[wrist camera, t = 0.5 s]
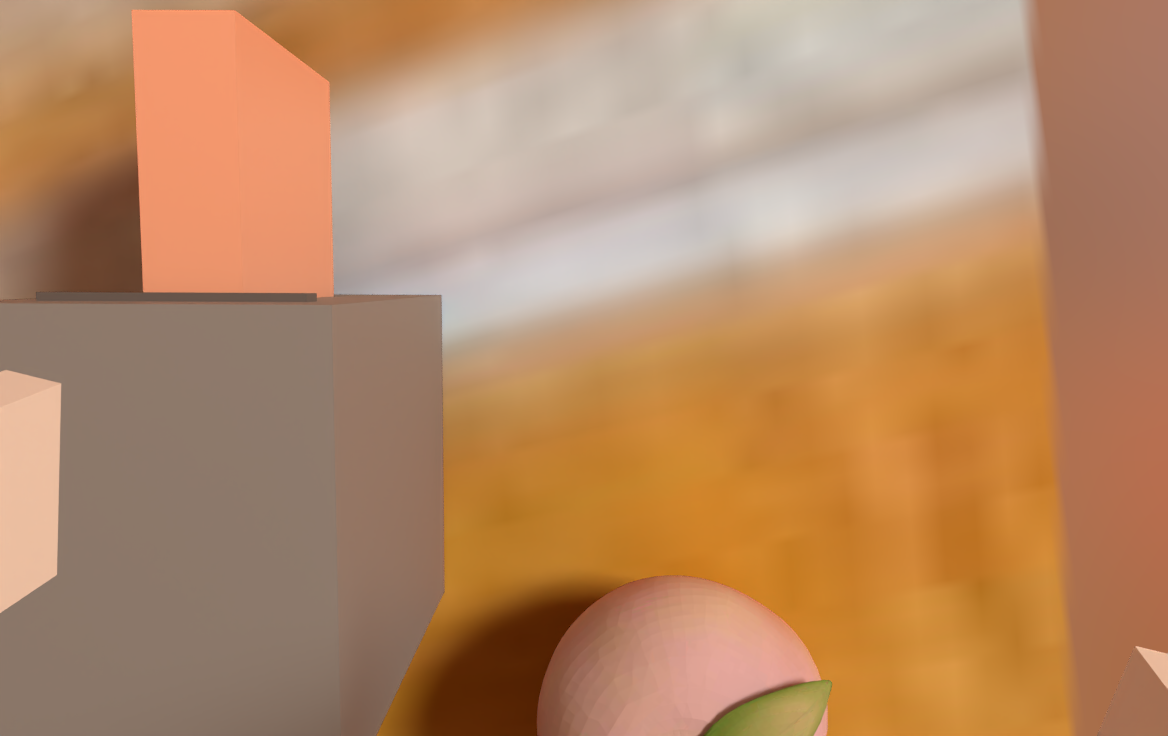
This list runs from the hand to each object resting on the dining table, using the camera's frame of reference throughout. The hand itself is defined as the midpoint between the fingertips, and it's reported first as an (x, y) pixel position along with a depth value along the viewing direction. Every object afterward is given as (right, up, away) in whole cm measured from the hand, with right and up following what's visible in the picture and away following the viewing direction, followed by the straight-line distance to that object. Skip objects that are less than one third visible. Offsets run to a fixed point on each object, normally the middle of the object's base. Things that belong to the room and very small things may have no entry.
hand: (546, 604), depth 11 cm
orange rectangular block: (-9, +4, +20) cm, 22 cm away
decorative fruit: (+3, -8, +23) cm, 25 cm away
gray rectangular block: (-9, 0, +22) cm, 24 cm away
